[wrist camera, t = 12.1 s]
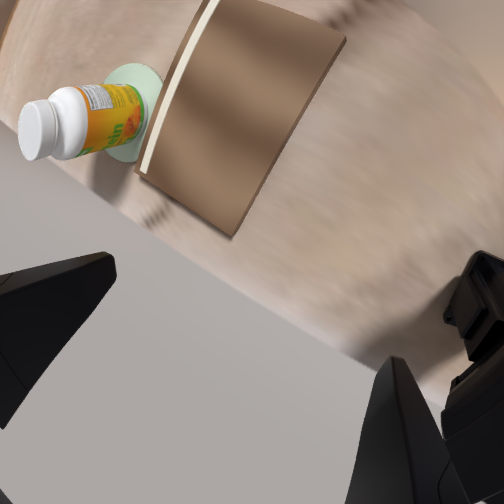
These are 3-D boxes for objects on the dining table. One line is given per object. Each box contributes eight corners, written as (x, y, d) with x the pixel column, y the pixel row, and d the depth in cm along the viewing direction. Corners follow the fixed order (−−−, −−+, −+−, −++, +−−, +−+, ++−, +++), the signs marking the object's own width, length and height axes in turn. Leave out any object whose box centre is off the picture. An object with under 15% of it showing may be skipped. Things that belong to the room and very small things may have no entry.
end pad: (174, 59, 17) (171, 59, 17) (165, 167, 22) (162, 168, 21) (100, 68, 19) (97, 68, 19) (96, 156, 24) (93, 157, 24)
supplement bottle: (124, 155, 22) (31, 188, 14) (99, 112, 21) (9, 132, 13) (160, 116, 19) (54, 133, 11) (131, 71, 18) (30, 75, 10)
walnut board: (217, -6, 14) (209, -12, 13) (346, 40, 13) (345, 34, 12) (143, 168, 23) (133, 171, 22) (237, 230, 22) (230, 237, 21)
